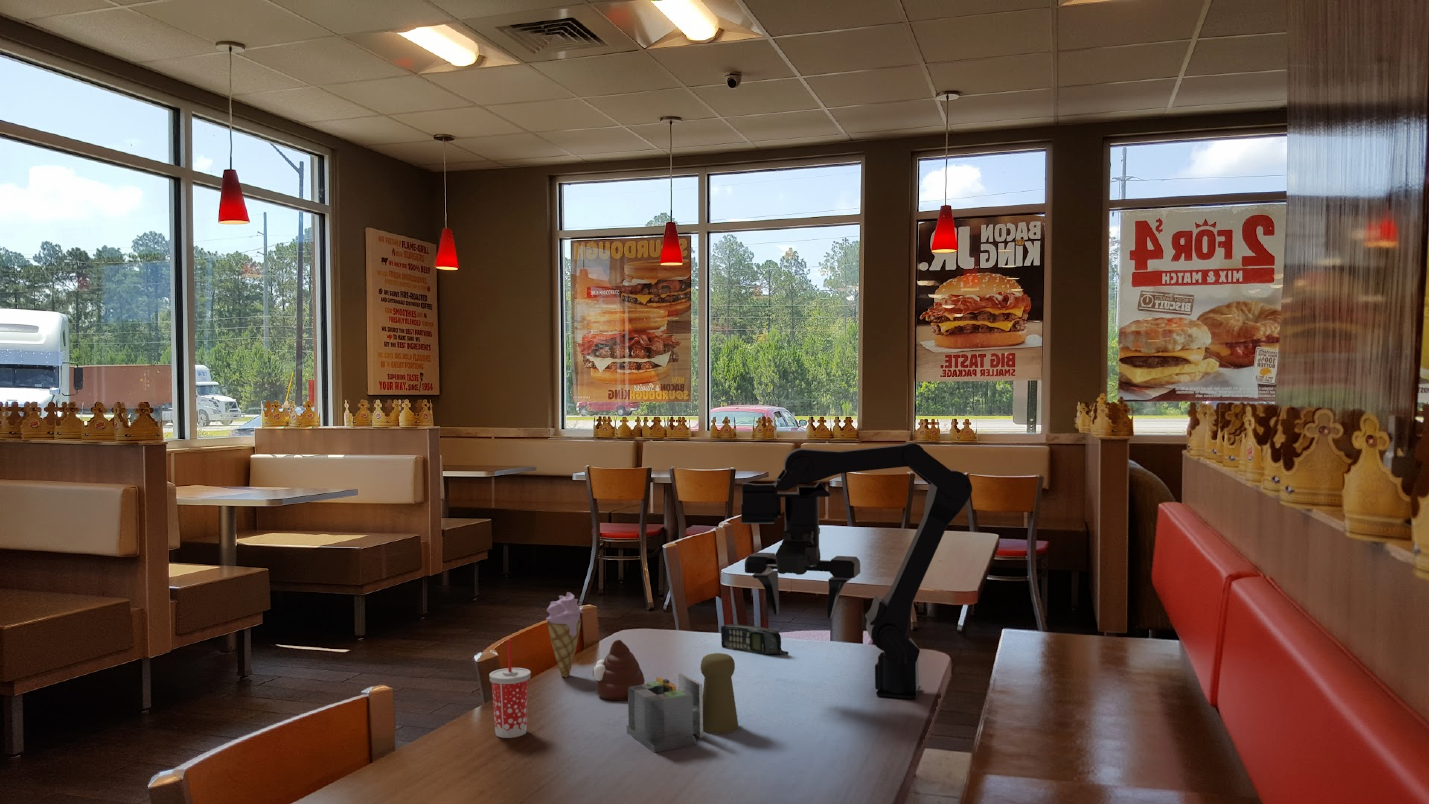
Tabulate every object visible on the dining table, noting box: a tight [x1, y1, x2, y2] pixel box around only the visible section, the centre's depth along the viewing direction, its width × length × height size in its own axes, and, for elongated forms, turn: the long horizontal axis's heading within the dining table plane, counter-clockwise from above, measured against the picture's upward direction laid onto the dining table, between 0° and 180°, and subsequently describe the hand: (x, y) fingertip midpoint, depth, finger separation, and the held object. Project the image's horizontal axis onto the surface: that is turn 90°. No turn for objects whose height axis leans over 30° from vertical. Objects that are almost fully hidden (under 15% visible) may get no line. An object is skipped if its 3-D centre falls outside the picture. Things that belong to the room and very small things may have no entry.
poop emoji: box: [592, 639, 646, 701], centre depth 169 cm, size 10×8×9 cm
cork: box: [700, 652, 739, 735], centre depth 150 cm, size 6×6×11 cm
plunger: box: [655, 672, 704, 738], centre depth 147 cm, size 4×7×8 cm, turn 28°
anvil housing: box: [626, 680, 697, 753], centre depth 145 cm, size 6×10×7 cm, turn 28°
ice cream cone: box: [545, 591, 584, 678], centre depth 180 cm, size 7×6×15 cm
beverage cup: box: [488, 638, 531, 739], centre depth 149 cm, size 6×6×14 cm
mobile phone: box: [720, 623, 789, 656], centre depth 196 cm, size 5×3×15 cm
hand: (802, 616), depth 166 cm, fingers open, 9 cm apart
